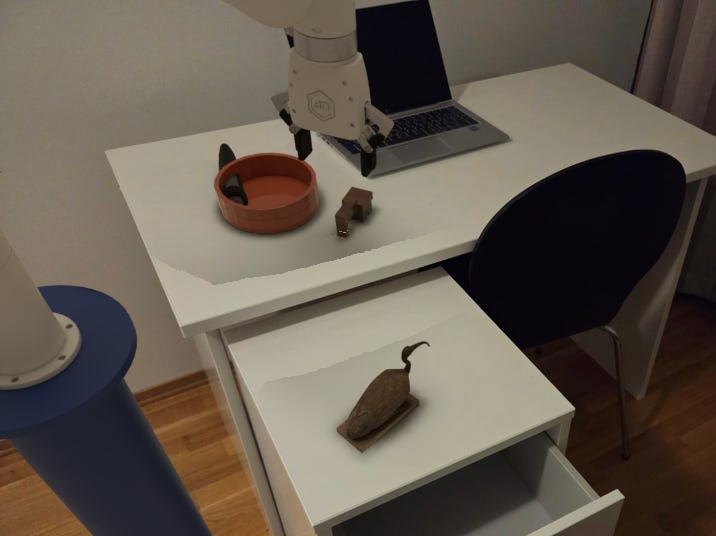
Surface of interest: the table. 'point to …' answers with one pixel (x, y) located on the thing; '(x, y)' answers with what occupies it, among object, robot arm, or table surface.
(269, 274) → the table surface
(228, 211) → the bowl
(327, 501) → the table surface
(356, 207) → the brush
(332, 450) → the table surface
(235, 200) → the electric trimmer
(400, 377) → the figurine
